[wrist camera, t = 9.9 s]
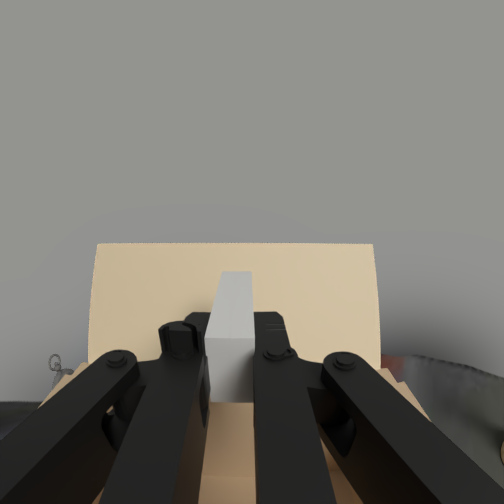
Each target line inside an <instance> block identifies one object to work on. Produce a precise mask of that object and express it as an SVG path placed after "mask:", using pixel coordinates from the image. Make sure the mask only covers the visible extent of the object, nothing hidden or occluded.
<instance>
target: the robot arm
mask: <svg viewBox="0 0 504 504" xmlns="http://www.w3.org/2000/svg"><path fill="white" fill-rule="evenodd" d="M158 333H159V339H160V345H161V350H162V353H161V355H160V357H159V359H155V360H149V361H139V362H138V361H137V357H136V356H135V354H134V353H132V352H130V351H128V350H119V349H118V350H112V351H109V352H106V353H105V354H103V355H101V356H100V357H99V358H98V359H96V360H95V361H94V362H93V363H92V364H90V365H89V366H88V367H87V368H86V369H84V370H83V371H82V372H81V373H80V374H78V375H77V376H76V377H75V378H74V379H72V380H71V381H70V382H69V383H68V384H66V385H65V386H64V387H63V388H62V389H60V390H59V391H58V392H57V393H56V394H54V395H53V396H52V397H51V398H50V399H49V400H47V401H46V402H45V403H44V404H43V405H41V406H40V407H39V408H38V409H37V410H36V411H34V412H33V413H32V414H31V415H30V416H29V417H27V418H26V419H25V420H24V421H23V422H22V423H20V424H19V425H18V426H17V427H16V428H15V429H13V430H12V431H11V432H10V433H9V434H8V435H7V436H5V437H4V438H3V439H2V440H1V441H0V504H92V503H93V502H94V500H95V499H96V498H97V496H98V495H99V494H100V492H101V491H102V490H103V488H104V490H103V492H102V495H101V498H100V500H99V503H98V504H198V501H199V492H200V484H201V476H202V468H203V460H204V453H205V445H206V437H207V430H208V423H209V415H210V409H209V397H210V398H211V402H225V403H254V404H253V427H254V453H255V487H256V504H337V502H336V498H335V494H334V490H333V486H332V482H331V478H330V474H329V470H328V466H327V462H326V458H325V454H324V451H323V447H322V443H321V440H322V441H323V443H324V445H325V446H326V448H327V449H328V451H329V452H330V454H331V456H332V457H333V459H334V460H335V462H336V463H337V465H338V466H339V468H340V469H341V471H342V472H343V474H344V475H345V477H346V479H347V480H348V482H349V483H350V485H351V486H352V488H353V489H354V491H355V492H356V493H357V495H358V496H359V498H360V499H361V501H362V502H363V504H504V489H503V488H502V487H501V486H500V485H498V484H497V483H496V482H495V481H494V480H493V479H492V478H491V477H490V476H489V475H488V474H487V473H485V472H484V471H483V470H482V469H481V468H480V467H479V466H478V465H477V464H476V463H475V462H474V461H473V460H471V459H470V458H469V457H468V456H467V455H466V454H465V453H464V452H463V451H462V450H461V449H460V448H459V447H457V446H456V445H455V444H454V443H453V442H452V441H451V440H450V439H449V438H448V437H447V436H446V435H445V434H443V433H442V432H441V431H440V430H439V429H438V428H437V427H436V426H435V425H434V424H433V423H432V422H431V421H429V420H428V419H427V418H426V417H425V416H424V415H423V414H422V413H421V412H420V411H419V410H418V409H417V408H415V407H414V406H413V405H412V404H411V403H410V402H409V401H408V400H407V399H406V398H405V397H404V396H403V395H402V394H400V393H399V392H398V391H397V390H396V389H395V388H394V387H393V386H392V385H391V384H390V383H389V382H388V381H387V380H385V379H384V378H383V377H382V376H381V375H380V374H379V373H378V372H377V371H376V370H375V369H374V368H373V367H372V366H370V365H369V364H368V363H367V362H366V361H365V360H364V359H363V358H362V357H360V356H359V355H357V354H354V353H351V352H345V351H340V352H333V353H331V354H328V355H327V356H326V357H325V358H324V360H323V363H318V362H311V361H306V360H304V359H301V358H299V357H298V354H297V352H296V351H295V349H293V348H291V346H290V342H289V338H288V334H287V331H286V327H285V323H284V319H283V316H281V315H280V314H279V313H278V312H277V311H271V312H254V311H253V292H252V272H251V271H222V274H221V277H220V281H219V285H218V288H217V292H216V296H215V299H214V303H213V307H212V311H211V312H192V313H190V314H189V315H188V316H186V317H185V319H184V320H183V321H173V322H168V323H166V324H164V325H162V326H161V327H160V328H159V329H158ZM111 406H112V407H113V409H112V410H111V411H110V412H108V413H107V411H108V410H109V408H110V407H111ZM320 438H321V439H320Z"/></svg>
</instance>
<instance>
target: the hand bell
mask: <svg viewBox="0 0 504 504" xmlns="http://www.w3.org/2000/svg"><path fill="white" fill-rule="evenodd" d="M501 459H502V461H503V464H504V442H503V444H502V446H501Z"/></svg>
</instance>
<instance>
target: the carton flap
mask: <svg viewBox="0 0 504 504" xmlns="http://www.w3.org/2000/svg"><path fill="white" fill-rule="evenodd" d="M222 271H251V272H252V292H253V311H254V312H271V311H277V312H278V313H279V314H280V315H281V316H283V319H284V323H285V327H286V331H287V334H288V338H289V342H290V346H291V348H293V349H295V351H296V352H297V354H298V357H299V358H301V359H304V360H306V361H311V362H318V363H323V360H324V358H325V357H326V356H327V355H328V354H331V353H333V352H340V351H345V352H351V353H354V354H357V355H359V356H360V357H362V358H363V359H364V360H365V361H366V362H367V363H368V364H369V365H370V366H372V367H373V368H374V369H375V370H378V369H380V322H379V321H380V320H379V303H378V290H377V279H376V269H375V260H374V252H373V245H372V244H314V243H304V244H303V243H131V244H130V243H124V244H123V243H119V244H118V243H117V244H98V245H97V252H96V258H95V266H94V274H93V282H92V292H91V303H90V319H89V340H88V363H90V364H92V363H93V362H94V361H95V360H96V359H98V358H99V357H100V356H101V355H103V354H105V353H106V352H109V351H112V350H118V349H119V350H128V351H130V352H132V353H134V354H135V356H136V357H137V361H138V362H139V361H149V360H155V359H159V357H160V355H161V353H162V350H161V345H160V339H159V333H158V329H159V328H160V327H161V326H162V325H164V324H166V323H168V322H173V321H183V320H184V319H185V317H186V316H188V315H189V314H190V313H192V312H211V311H212V307H213V303H214V299H215V296H216V292H217V288H218V285H219V281H220V277H221V274H222Z"/></svg>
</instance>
